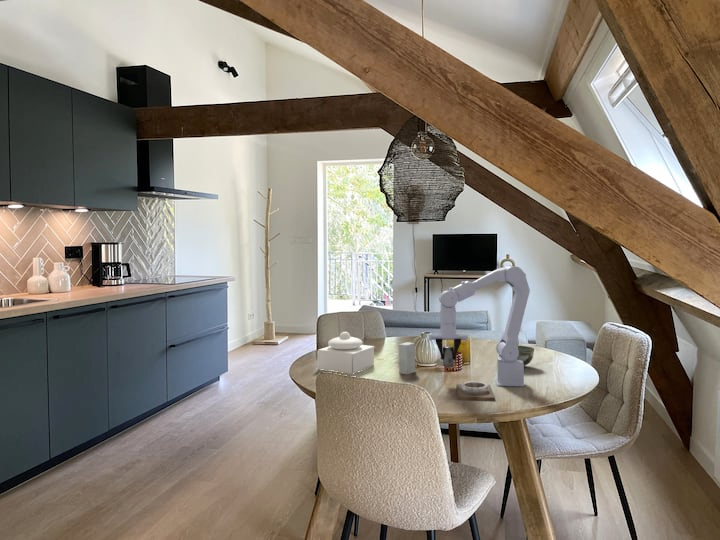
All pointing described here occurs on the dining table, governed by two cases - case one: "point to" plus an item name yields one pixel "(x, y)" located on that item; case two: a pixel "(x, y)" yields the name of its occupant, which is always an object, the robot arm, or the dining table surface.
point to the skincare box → (406, 358)
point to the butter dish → (346, 355)
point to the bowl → (525, 354)
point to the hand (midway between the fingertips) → (448, 359)
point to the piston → (448, 356)
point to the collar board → (474, 391)
